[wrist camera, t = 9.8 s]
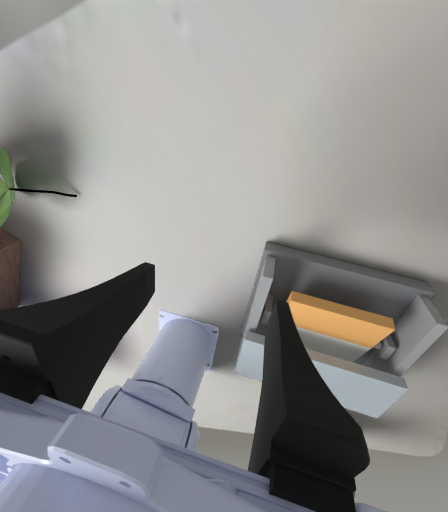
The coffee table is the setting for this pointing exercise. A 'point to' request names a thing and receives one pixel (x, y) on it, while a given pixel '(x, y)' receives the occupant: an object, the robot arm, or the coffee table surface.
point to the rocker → (337, 327)
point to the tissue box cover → (9, 270)
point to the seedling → (11, 187)
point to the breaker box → (349, 301)
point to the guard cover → (333, 378)
